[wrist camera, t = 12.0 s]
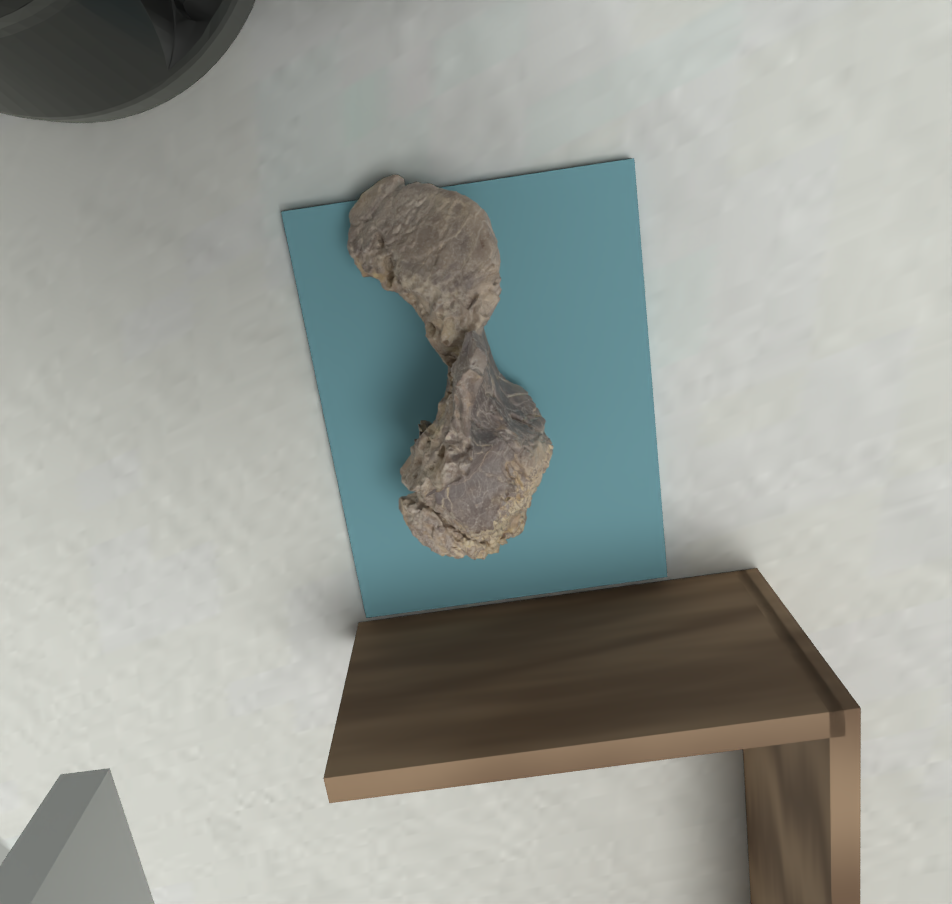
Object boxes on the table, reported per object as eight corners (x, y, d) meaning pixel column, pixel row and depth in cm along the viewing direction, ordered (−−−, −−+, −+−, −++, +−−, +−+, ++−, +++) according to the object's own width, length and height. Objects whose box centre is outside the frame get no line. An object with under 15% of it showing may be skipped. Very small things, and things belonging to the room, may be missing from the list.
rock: (502, 155, 30) (513, 153, 24) (559, 517, 35) (582, 602, 28) (342, 185, 31) (308, 191, 24) (420, 541, 35) (410, 630, 29)
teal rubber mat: (284, 211, 32) (281, 211, 31) (630, 158, 31) (634, 158, 31) (367, 611, 37) (366, 617, 36) (664, 570, 37) (667, 576, 36)
